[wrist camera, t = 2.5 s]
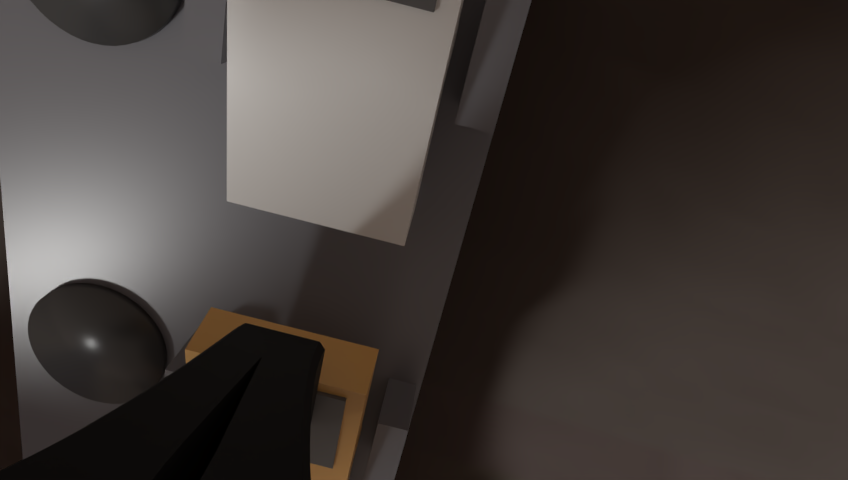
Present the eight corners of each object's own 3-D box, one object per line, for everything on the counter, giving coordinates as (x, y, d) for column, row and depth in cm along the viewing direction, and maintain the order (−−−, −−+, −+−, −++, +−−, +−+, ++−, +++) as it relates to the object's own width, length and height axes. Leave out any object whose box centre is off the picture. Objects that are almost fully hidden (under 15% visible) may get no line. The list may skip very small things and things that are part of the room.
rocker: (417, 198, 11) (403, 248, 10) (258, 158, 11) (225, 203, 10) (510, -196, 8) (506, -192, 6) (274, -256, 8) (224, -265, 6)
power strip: (342, 637, 22) (308, 790, 18) (95, 576, 22) (7, 714, 18) (594, -262, 11) (653, -394, 7) (86, -393, 11) (-161, -604, 7)
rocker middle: (344, 501, 15) (327, 565, 13) (222, 471, 15) (194, 532, 13) (384, 330, 11) (365, 398, 10) (221, 289, 11) (182, 352, 10)
